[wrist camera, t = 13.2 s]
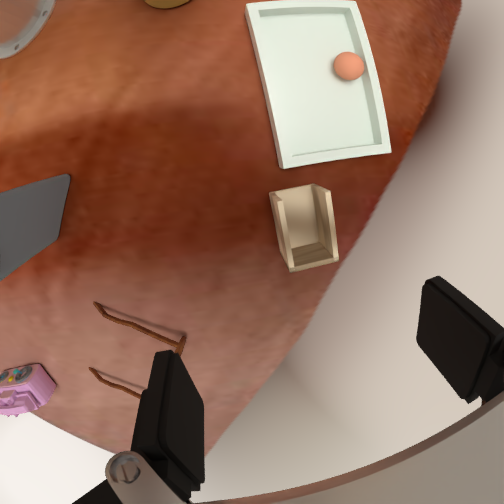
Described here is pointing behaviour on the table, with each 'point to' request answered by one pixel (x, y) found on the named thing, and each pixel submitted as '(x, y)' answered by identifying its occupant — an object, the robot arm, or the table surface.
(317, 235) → the beige open holder
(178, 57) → the table surface
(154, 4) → the paper tube
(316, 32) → the tray
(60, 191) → the smartphone
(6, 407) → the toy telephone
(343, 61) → the ball
